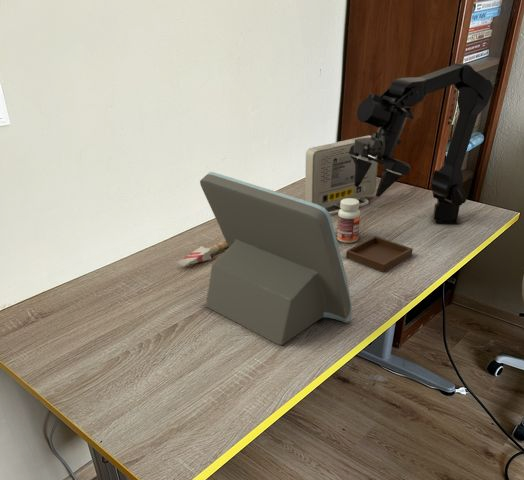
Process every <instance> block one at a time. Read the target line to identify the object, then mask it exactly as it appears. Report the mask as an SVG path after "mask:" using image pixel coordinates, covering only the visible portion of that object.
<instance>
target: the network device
mask: <svg viewBox="0 0 524 480" xmlns="http://www.w3.org/2000/svg"><path fill="white" fill-rule="evenodd" d="M371 136H372V135H364V136H359V137H354V138H350V139H345V140H341V141H336V142H331V143H326V144H322V145H316V146H312V147H309V148H308V149H307V150H306V152H305V179H304V183H305V186H304V189H305V190H304V191H305V192H304V200H305V201H308V202H311V203H314V204H317V205H320V206H322V207H323V208H327V207H330V206H335V207H337V208H339V209H336V210H335V209H334V210H332V211H328V212H329V214H330V216H331V215H336V214H338V212H339V210H340V209H341V208H340V204H341V200H343V199H346V198H353V199H357V200H358V201H361V203H359V208H361V207H365V206H368V205H369V202H370V201H369V199H368V198H365V197H367V196H372V195H373V194H375V192H376V189H377V177H378V166H379V163H378V162H375V161H373V160H371V161H370V160H368V162H371V163H372V165H371V166H370V168H369V170H368V171H367V173H366V175H365V177H364V178H363V180H362V182H361V183H360V185H359V186H358V187H356V186H355V163H354V161H353V159H352V158H351V156H353V155H351V154H349V151H350V148H351V146H353V145H354V144H355V139H361V138H370V137H371ZM377 157H378V156H376V158H377Z"/></svg>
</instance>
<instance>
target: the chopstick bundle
mask: <svg viewBox="0 0 524 480" xmlns="http://www.w3.org/2000/svg"><path fill="white" fill-rule="evenodd" d="M226 248H229V246H228V244H227V242H226V240H224V241H222V242H220V243H217V244H215V245H212V246H211V247H208V248H207V247H204V246H199V247H198V248H196V249H195V250H194V251H192V252H191V253H189V254H188V255H186V256H184V257H183V258H182V259H180V260H178V261H177V262H176V264H178V265H181V266H183V267H184V266H189V265H192V264H197V263H201V262H205V261H206V262H207V261H210V260H212V257H211V255H213V254H215V253H218V252H219V251H222V250H224V249H226Z"/></svg>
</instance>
